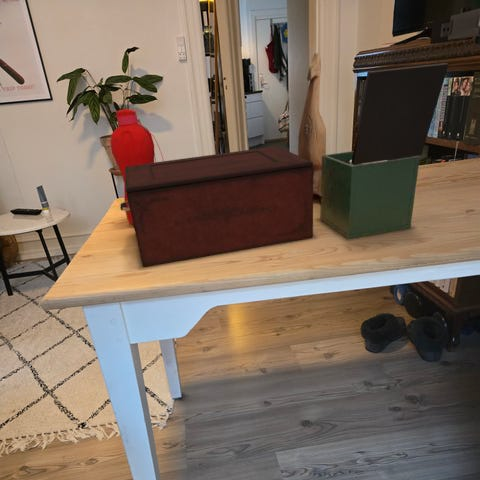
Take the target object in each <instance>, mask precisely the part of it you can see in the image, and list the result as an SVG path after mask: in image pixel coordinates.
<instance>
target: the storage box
mask: <svg viewBox="0 0 480 480" xmlns="http://www.w3.org/2000/svg"><path fill="white" fill-rule="evenodd" d="M312 166H313V162H311V161H308V160H306V159H304V158H302V157H300V156H298V154H295V153H294V152H291V151H289V150H287V149H285V148H282V147H280V146H276V145H275V146H269V147H268V146H267V147H261V148H260V147H259V148H254V149H253V148H252V149H245V150H237V151H230V152H223V153H216V154H208V155H199V156H194V157H193V156H192V157H186V158H178V159H170V160H164V161H163V160H162V161H154V163H147V164H140V165H132V166H126V167H125V189H126V192H127V199H128V201H126V202H125V201H123V202H121V203H120V204H119V207H120V208H119V209H120V211H123V212H126V211H129V210H130V212H131V216H132V221H133V225H132V226H133V229H134V233H135V238H136V242H137V247H138V251H139V257H140V260H141V265H142V267H143V268H145V267H151V266H157V265H164V264H168V263H174V262H181V261H186V260H191V259H192V260H193V259H197V258H203V257H204V258H205V257H209V256H215V255H220V254H227V253H233V252H238V251H244V250H250V249H256V248H260V247H266V246H272V245H278V244H284V243H289V242H295V241H300V240H306V239H307V240H308V239H312V238H313V237H314V193H313V167H312ZM127 204H129V207H128V208H127Z"/></svg>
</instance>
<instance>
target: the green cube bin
mask: <svg viewBox="0 0 480 480" xmlns="http://www.w3.org/2000/svg"><path fill="white" fill-rule="evenodd" d="M353 151H354V150H351V151H344V152H337V153H330V154H326V155H322V171H321V197H320V221H322V222H324V224H326V225H328V226H329V227H330V228H332V229H333V230H335V231H336V232H338V233H339V234H341V235H342V236H343V237H345V238H346V239H348V240H350V239H355V238H361V237H368V236H372V235H378V234H383V233H384V234H385V233H389V232H395V231H402V230H407V229H411V226H412V218H413V210H414V203H415V195H416V189H417V183H418V182H417V181H418V175H419V168H420V167H419V166H420V159H421V157H420V156H419V155H418V156H412V157H405V158H398V159H391V160H387V161H382V162H375V163H368V164H362V165H355V166H354V165H351V164H350V160H352V156H353Z"/></svg>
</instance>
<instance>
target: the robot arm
mask: <svg viewBox="0 0 480 480" xmlns="http://www.w3.org/2000/svg"><path fill="white" fill-rule="evenodd" d="M473 39H474V42H473V45H480V7H479V8H476V9H472V6H464V7H461V11H460V13H454V14H452V15H451V16H449V17H444V18H439V19H434V20H433V21H432V27H431V35H430V41H429V42H430V45H436V44H445V43H453V42H460V41H469V40H473Z"/></svg>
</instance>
